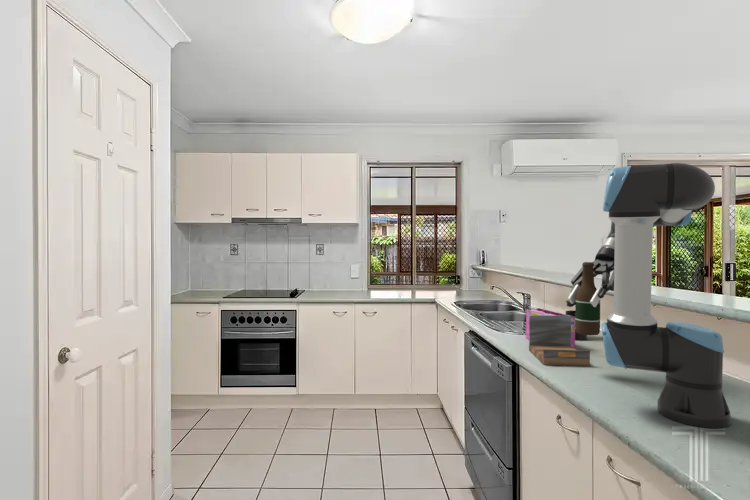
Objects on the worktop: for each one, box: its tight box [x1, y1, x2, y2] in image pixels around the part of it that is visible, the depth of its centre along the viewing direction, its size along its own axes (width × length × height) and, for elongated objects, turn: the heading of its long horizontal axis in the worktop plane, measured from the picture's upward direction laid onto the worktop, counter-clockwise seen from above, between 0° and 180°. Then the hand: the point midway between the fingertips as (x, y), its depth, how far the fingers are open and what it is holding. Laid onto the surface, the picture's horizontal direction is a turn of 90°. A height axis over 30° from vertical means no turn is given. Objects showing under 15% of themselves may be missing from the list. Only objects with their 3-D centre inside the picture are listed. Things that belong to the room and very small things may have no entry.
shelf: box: [528, 315, 591, 367], centre depth 163 cm, size 20×16×14 cm
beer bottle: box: [574, 261, 601, 336], centre depth 144 cm, size 8×8×24 cm
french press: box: [565, 299, 588, 342], centre depth 195 cm, size 12×9×23 cm
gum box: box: [525, 307, 576, 349], centre depth 185 cm, size 24×8×14 cm, turn 17°
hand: (581, 302), depth 142 cm, fingers closed on beer bottle, 7 cm apart
